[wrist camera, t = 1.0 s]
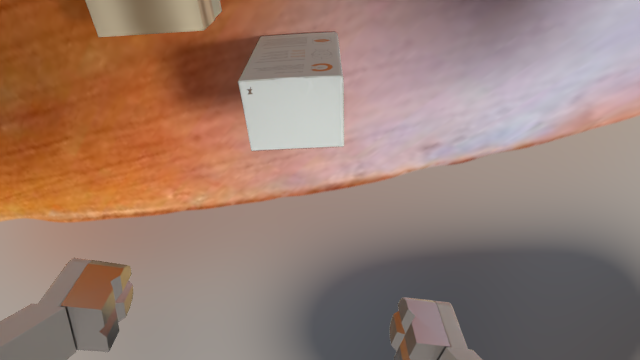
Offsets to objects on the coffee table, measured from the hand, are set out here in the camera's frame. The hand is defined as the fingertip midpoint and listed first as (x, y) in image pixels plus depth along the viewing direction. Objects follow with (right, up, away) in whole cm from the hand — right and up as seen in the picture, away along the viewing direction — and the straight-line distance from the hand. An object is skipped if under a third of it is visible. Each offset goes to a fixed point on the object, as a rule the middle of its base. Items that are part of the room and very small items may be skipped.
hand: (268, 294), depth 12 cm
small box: (0, +16, +30) cm, 34 cm away
